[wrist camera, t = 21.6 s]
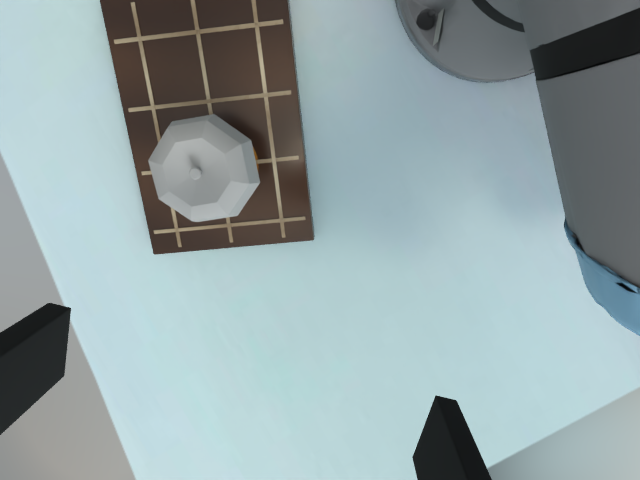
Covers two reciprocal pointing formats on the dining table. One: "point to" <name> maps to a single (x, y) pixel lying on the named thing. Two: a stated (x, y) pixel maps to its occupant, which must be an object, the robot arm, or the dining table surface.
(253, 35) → the board
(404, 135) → the dining table surface
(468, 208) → the dining table surface
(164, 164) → the apple
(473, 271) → the dining table surface
